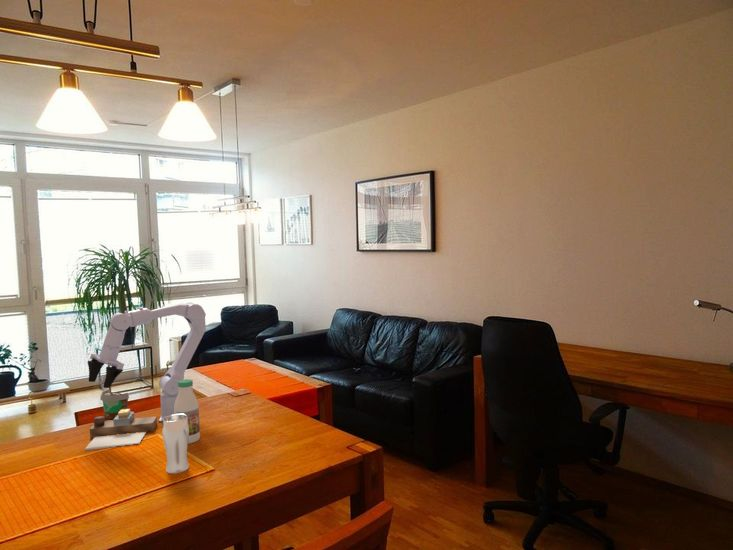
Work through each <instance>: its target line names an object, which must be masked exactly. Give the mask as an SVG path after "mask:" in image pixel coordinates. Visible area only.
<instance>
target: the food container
mask: <svg viewBox="0 0 733 550" xmlns="http://www.w3.org/2000/svg"><path fill="white" fill-rule="evenodd" d="M129 399H130V396H129V393H128V392H125V393H120V392H111V391H110V389H106V390H104V391H102V392H101V394H100V399H99V400H100V401H102V405H103V407H102V408H103V412H104V413H103V414H104V415H103V416H104V421H107V420H113V419H114V418H115V417H116V416H117V415H118V412H119V411H120V410H121V409H129Z"/></svg>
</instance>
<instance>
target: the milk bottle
mask: <svg viewBox="0 0 733 550" xmlns="http://www.w3.org/2000/svg"><path fill="white" fill-rule="evenodd" d="M193 385H194V382H193V379H185V378H184V379H183V380H180V381H178V389H179V393H178V396H177V399H176V401H175V405H174V414H186V415H187V417H188V425H189V440H188V445H190V444H194V443H196V442H198V441H200V438H201V431H200V429H201V426H200V408H199V402H198V401H199V400H198V399H197V397H196V395H195V393H194V390H193V387H194V386H193Z"/></svg>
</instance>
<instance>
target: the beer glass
mask: <svg viewBox="0 0 733 550" xmlns="http://www.w3.org/2000/svg"><path fill="white" fill-rule="evenodd" d="M162 439H163V445H164V449H165V453H166V469H165V472H166V473H167V474H170V475H171V474H172V475H174V474H175V475H176V474H181V473H184V472H186V471H187V470H188V469H189V467H190V464H189V462H188V445H189V444H188V440H189V425H188V417H187V415H186V414H173V415H169V416H166V417H164V418H163V421H162Z"/></svg>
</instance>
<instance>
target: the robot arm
mask: <svg viewBox="0 0 733 550" xmlns="http://www.w3.org/2000/svg"><path fill="white" fill-rule="evenodd" d="M175 315H176V316H181V317H183V318H184V320H186V322H187V323H188V325H189V328H190V330H189V332H188V334H187V336H186V338H185V340H184V341H183V344H182V346H181V347H180V350H179V352H178V353H177V356H176V358H175V359H174V361H173V364H172V365H171V367H169V369H167V371H166V373H165V374H164V375H163V376H162V377H161V378H160V379H159V382H158V385H159V389H161V392H160V418H159V419H158V422H159V421H160V422H163V418H164V417H166V416H169V415H173V414H174V405H175V401H176V399H177V396H178V393H179V389H178V381H180V380H185V372H186V370H187V368H188V366H189V364H190V362H191V360H192V358H193V356H194V354H195V352H196V350H197V348H198V346H199V344H200V343H201V340H202V338H203V336H204V334H205V332H206V330H207V327H206V325H207V323H206V312H205V310H204V308H203V307H202V306H201V305H200V304H198V303H197V304H196V303H193V302H187V303H184V302H183V303H177V304H171V305H167V306H164V307H158V308H156V309H152V310H151V309H149V308H148V307H143V306H141V307H138V309H134V310H124V313H122V312H117V313H114V314H113V315H111V317H110V318H109V324H110V325H109V326H108V331H107V332H106V335H105V336H104V337H105V338H104V340H103V343H102V347H101V350H100V352H99V354H98V353H91V354H90V356H89V360H87V366H88V382H89V383H90V382H91V383H95V382H96V380H97V378H98V377H99V375H100V374H99V373H100V372H101V369H102V368H103V366H105V365H108V366H106V367H105V371H106V372H105V378H104V383H103V388H106V389H109V388H111V386H112V385H113V383H114V382H115V380H116V379H117V377H118V376H119V375H120V374H121V373H122V372H123V369H124V366H125V363H123V362H121V361H119V360H117V359H118V357H119V354H120V351H121V347H122V346H123V345H122V344H123V342H124V339H125V333H126V331H127V330H128V329H129V328H133V327H138V326H142V325H147V324H150V323H151V322H152V321H153V320H154V319H159V318H164V317H169V316H175Z"/></svg>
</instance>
